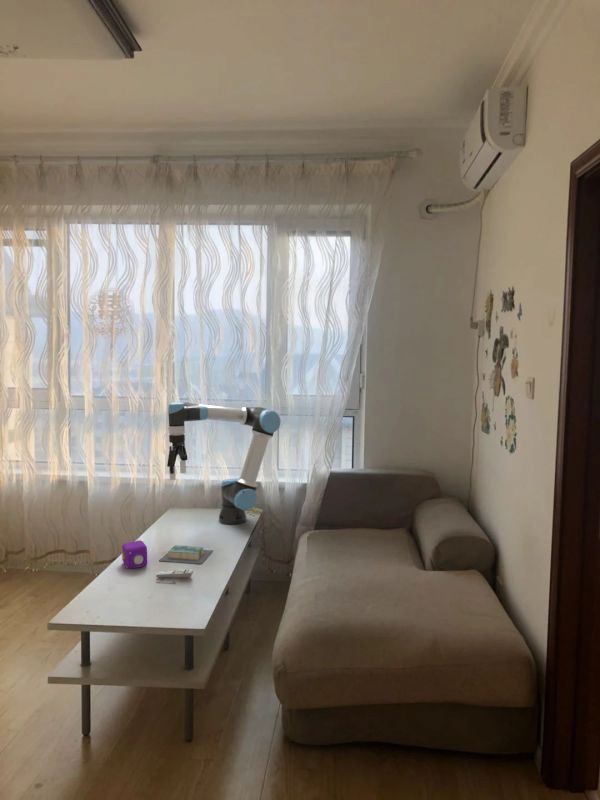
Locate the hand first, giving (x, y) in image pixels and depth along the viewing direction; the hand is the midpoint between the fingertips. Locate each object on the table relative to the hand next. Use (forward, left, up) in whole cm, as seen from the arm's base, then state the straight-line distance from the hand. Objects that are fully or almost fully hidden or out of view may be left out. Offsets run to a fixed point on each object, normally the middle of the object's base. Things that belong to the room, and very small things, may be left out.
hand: (178, 476), depth 288 cm
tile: (+22, +5, -30) cm, 37 cm away
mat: (+22, +12, -32) cm, 40 cm away
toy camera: (+36, -6, -32) cm, 49 cm away
